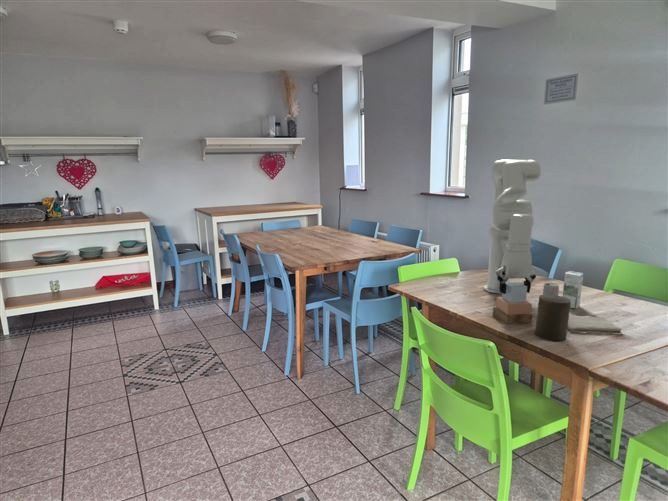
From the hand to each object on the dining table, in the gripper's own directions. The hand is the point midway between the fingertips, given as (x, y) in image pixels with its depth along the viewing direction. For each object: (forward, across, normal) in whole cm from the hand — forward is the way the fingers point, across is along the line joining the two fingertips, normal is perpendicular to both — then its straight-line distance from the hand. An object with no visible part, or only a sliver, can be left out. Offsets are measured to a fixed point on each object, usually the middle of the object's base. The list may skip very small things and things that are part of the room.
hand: (514, 292), depth 160 cm
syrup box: (+11, -33, -11) cm, 36 cm away
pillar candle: (+11, -4, +17) cm, 21 cm away
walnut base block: (+11, 0, 0) cm, 11 cm away
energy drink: (+11, -18, -4) cm, 21 cm away
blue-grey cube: (+3, 0, 0) cm, 3 cm away
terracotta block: (+7, 0, 0) cm, 7 cm away
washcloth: (+11, -23, +11) cm, 28 cm away
